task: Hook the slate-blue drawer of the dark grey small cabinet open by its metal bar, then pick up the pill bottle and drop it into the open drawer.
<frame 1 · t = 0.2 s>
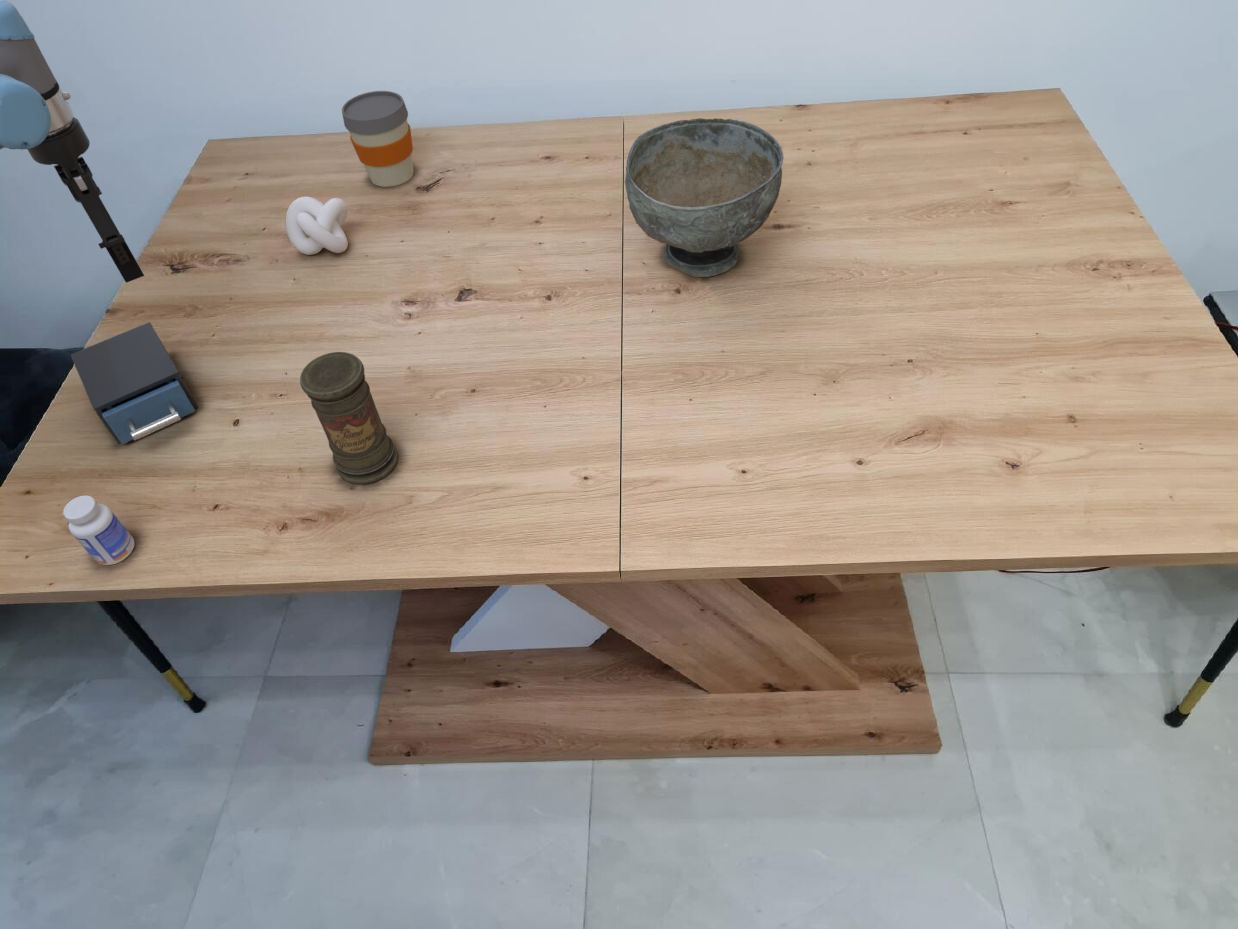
hand: (122, 257, 137), 20 cm above the table, tool pointing down, fingers open, 13 cm apart
pill bottle: (116, 551, 124), on the table
drawer: (142, 396, 139), point 4 cm above the table, slide at 0.5 cm
reusable coffee cup: (392, 175, 187), on the table
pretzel: (328, 249, 170), on the table
small cabinet: (145, 398, 145), on the table
container: (368, 463, 132), on the table
decorative bowl: (703, 257, 160), on the table
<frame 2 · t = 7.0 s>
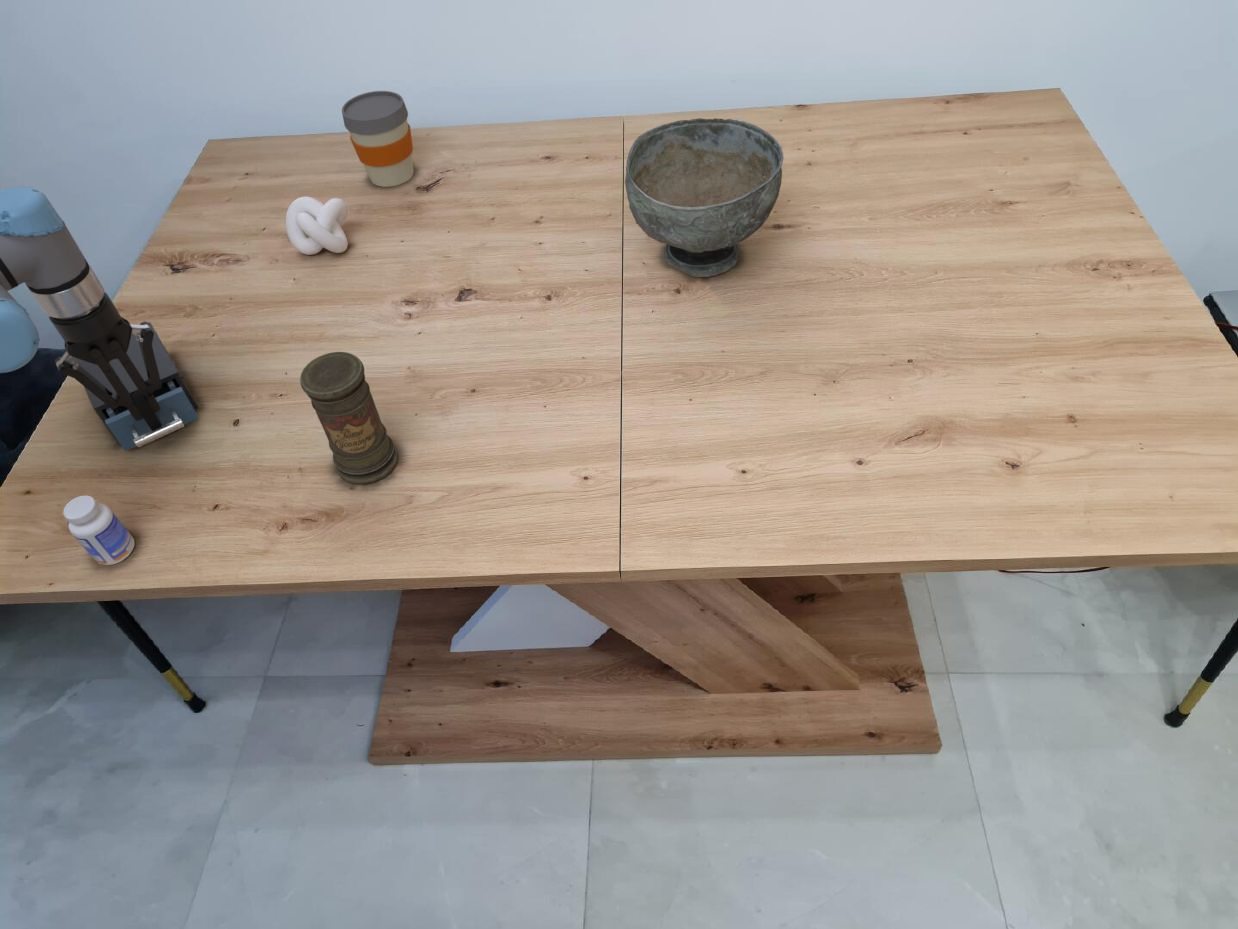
hand: (158, 428, 135), 4 cm above the table, tool pointing down, fingers closed
drawer: (145, 403, 138), point 4 cm above the table, slide at 2.3 cm, touching gripper
everything else where it was.
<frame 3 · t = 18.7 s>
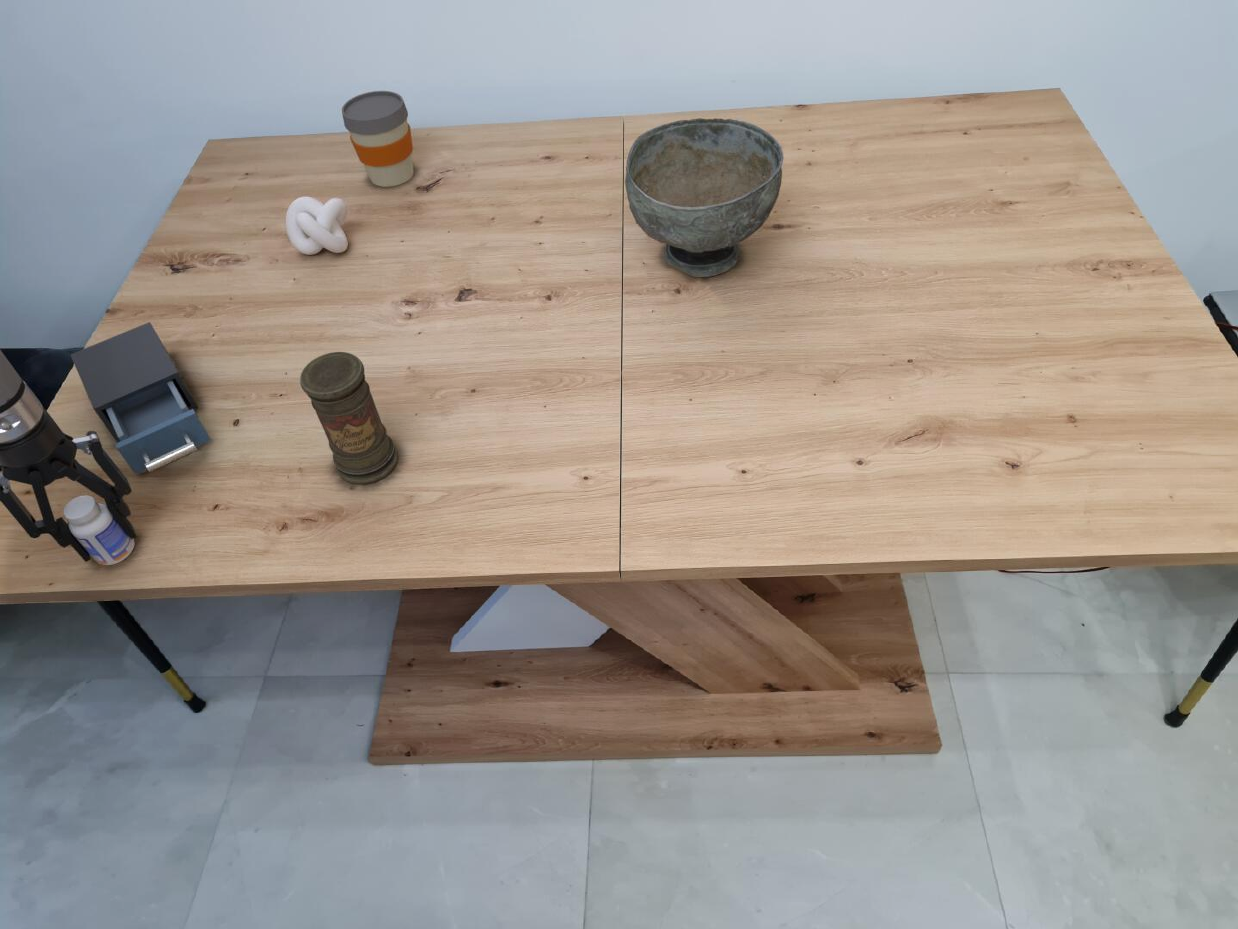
hand: (108, 542, 123), 2 cm above the table, tool pointing down, fingers closed on pill bottle, 5 cm apart
pill bottle: (116, 551, 124), on the table, touching gripper
drawer: (156, 425, 135), point 4 cm above the table, slide at 8.4 cm
everything else where it was.
when the fingers open (6 cm above the table, at t = 27.5 s): pill bottle stays where it is, resting on drawer.
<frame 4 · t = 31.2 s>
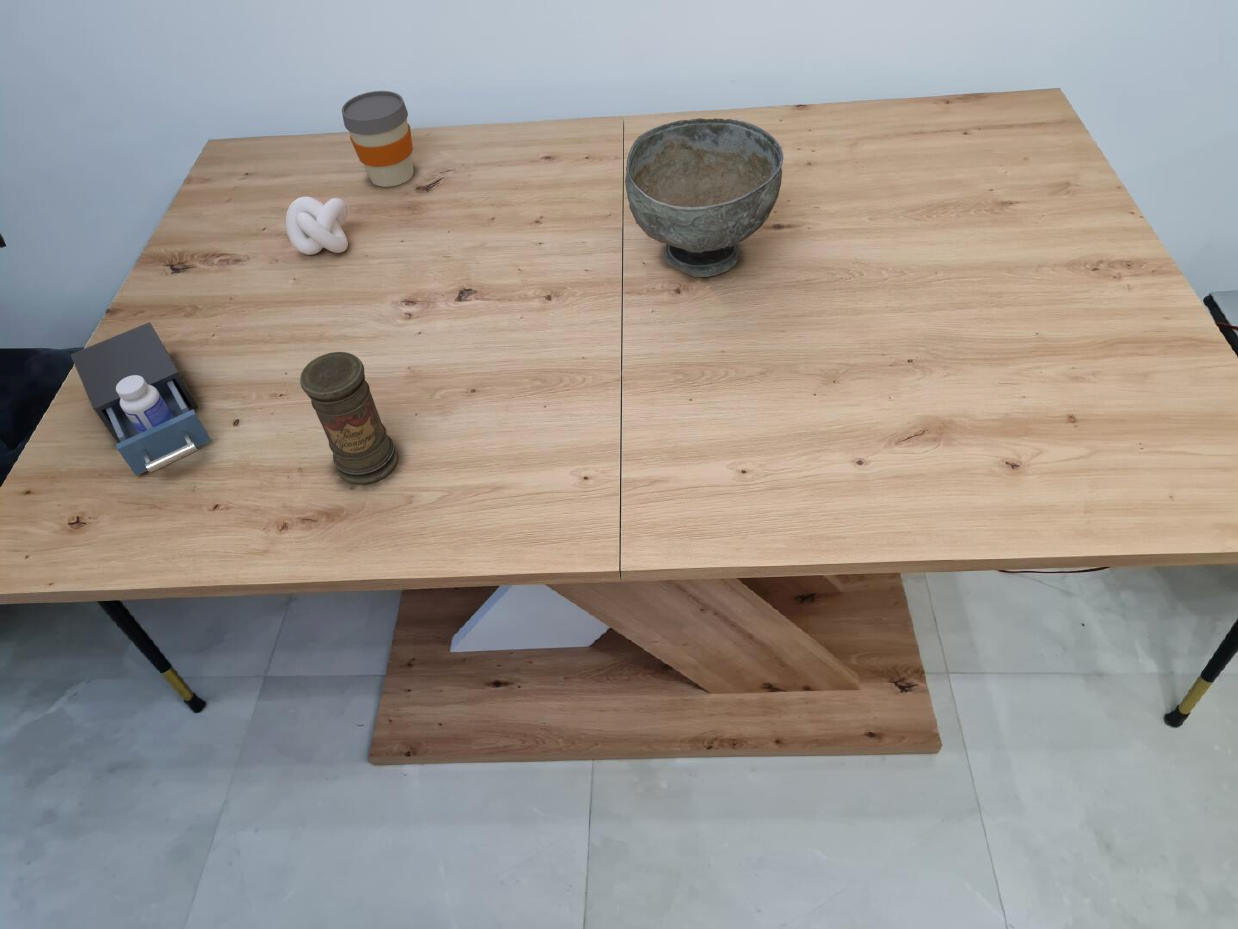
pill bottle: (160, 431, 137), point 2 cm above the table, touching drawer
drawer: (156, 426, 135), point 4 cm above the table, slide at 8.6 cm, touching pill bottle
everything else where it was.
at the end: drawer slide at 8.6 cm; pill bottle inside the target area in the drawer (0.7 cm from its centre), point 1.8 cm above the small cabinet's base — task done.
